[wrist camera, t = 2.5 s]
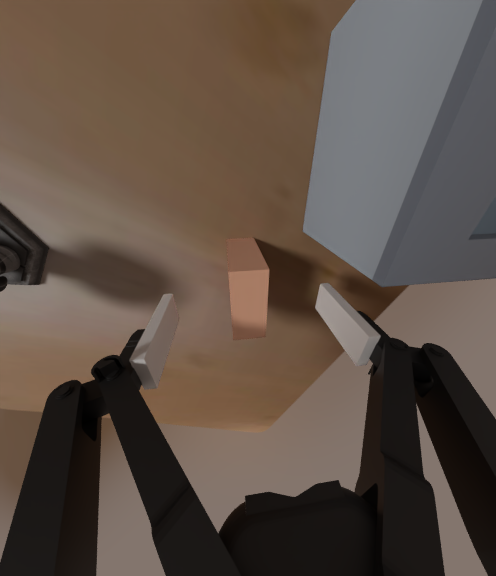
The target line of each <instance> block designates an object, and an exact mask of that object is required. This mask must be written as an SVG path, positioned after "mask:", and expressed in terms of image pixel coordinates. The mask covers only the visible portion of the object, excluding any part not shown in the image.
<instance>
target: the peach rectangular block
mask: <svg viewBox="0 0 496 576" xmlns="http://www.w3.org/2000/svg"><path fill="white" fill-rule="evenodd" d="M226 243H227V258H228V273H229V287H230V301H231V314H232V328H233V340H241V339H251V338H262V337H266V320H267V303H268V286H269V268H268V266H267V264H266V262H265V260H264V258H263V256H262V254H261V251H260V249H259V247H258V245H257V243H256V241H255V239H254V238H236V239H226Z"/></svg>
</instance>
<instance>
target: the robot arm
mask: <svg viewBox="0 0 496 576" xmlns="http://www.w3.org/2000/svg"><path fill="white" fill-rule="evenodd" d="M315 308H316V310H317V311H318V313H319V314H320V315H321V317H322V318H323V320H324V321H325V323H326V324H327V325H328V327H329V328H330V330H331V331H332V333H333V334H334V335H335V337H336V338H337V340H338V341H339V343H340V344H341V345H342V347H343V348H344V350H345V351H346V353H347V354H348V355H349V357H350V358H351V359H352V361H353V362H354V364H355V365H356V366H361V365H367V363H368V361H369V359H370V360H371V361H372V363H373V365H372V367H371V369H370V371H369V373H368V374H370V373H371V377H370V385H369V394H368V403H367V413H366V421H365V430H364V439H363V448H362V457H361V467H360V474H359V477H358V480H357V483H356V488H355V492H352V491H351V490H349V489H346V488H343V487H341V486H340V483H339V480H336V481H331V482H324V483H318V484H315V485H314V486H312V487H311V488H309V489H308V490H306V491H304V492H303V493H301V494H300V495H298V496H296V497H290V496H286V495H281V494H277V493H272V492H265V493H259V494H253V495H248V496H245V500H246V503H245V502H244V503H242V504H241V505H239V506H238V507H237V508H236V509H235V510H234V511H233V512H232V513H231V514H230V515H229V516H228V518H227V519H226V521H225V522H224V524H223V526H222V528H221V529H220V531H219V533H217V531H216V529H215V527H214V525H213V524H212V522H211V520H210V518H209V516H208V515H207V513H206V511H205V509H204V507H203V506H202V504H201V502H200V500H199V499H198V497H197V495H196V493H195V491H194V490H193V488H192V486H191V484H190V482H189V480H188V479H187V477H186V475H185V473H184V471H183V470H182V468H181V466H180V464H179V462H178V460H177V459H176V457H175V455H174V454H173V452H172V450H171V448H170V446H169V444H168V443H167V441H166V439H165V437H164V435H163V433H162V432H161V430H160V428H159V426H158V424H157V423H156V421H155V419H154V417H153V415H152V414H151V412H150V410H149V408H148V406H147V405H146V403H145V401H144V399H143V397H142V396H141V394H140V392H139V390H140V387H141V385H142V386H143V388H144V390H145V389H154V388H158V384H159V381H160V378H161V375H162V372H163V369H164V365H165V362H166V359H167V356H168V353H169V350H170V347H171V343H172V340H173V337H174V334H175V331H176V328H177V325H178V321H179V315H178V311H177V307H176V304H175V300H174V296H173V294H163V296H162V298H161V300H160V302H159V304H158V306H157V308H156V310H155V312H154V313H153V315H152V317H151V319H150V321H149V323H148V325H147V327H146V329H141V330H137V331H136V332H135V333H134V334H133V335H132V336H131V337H130V339H129V341H128V343H127V344H126V346H125V348H124V349H123V351H122V353H121V354H120V356H118V355H111V356H107V357H105V358H103V359H101V360H100V361H98V362H97V363H96V364H95V365H94V366H93V368H92V370H91V374H92V375H93V377H94V378H95V380H92V381H90V382H87V383H84V384H81V383H80V382H79V381H78V380H71V381H68V382H65V383H63V384H61V385H60V386H58V387H57V388H56V389H54V390H53V391H52V392H51V393H50V395H49V396H48V398H47V401H46V404H45V408H44V411H43V415H42V418H41V422H40V425H39V429H38V432H37V436H36V439H35V443H34V447H33V450H32V453H31V457H30V460H29V464H28V467H27V471H26V474H25V478H24V481H23V485H22V488H21V492H20V495H19V499H18V503H17V506H16V509H15V513H14V516H13V520H12V524H11V527H10V530H9V534H8V537H7V541H6V544H5V548H4V551H3V555H2V559H1V562H0V576H96V564H97V535H98V506H99V478H100V448H101V447H100V446H101V420H102V416H104V415H106V414H108V413H110V416H111V419H112V421H113V424H114V426H115V429H116V432H117V435H118V437H119V440H120V442H121V445H122V448H123V451H124V453H125V456H126V459H127V461H128V464H129V467H130V469H131V472H132V475H133V477H134V480H135V483H136V485H137V488H138V490H139V493H140V496H141V499H142V501H143V504H144V506H145V509H146V512H147V515H148V517H149V520H150V523H151V527H152V537H153V541H154V544H155V547H156V550H157V553H158V555H159V558H160V561H161V564H162V566H163V569H164V572H165V575H166V576H445V573H444V565H443V558H442V550H441V542H440V535H439V527H438V519H437V511H436V504H435V497H434V492H433V488H432V486H431V484H430V483H429V482H428V481H427V480H425V478H424V474H423V466H422V457H421V447H420V437H419V427H418V418H417V408H416V403H417V406H418V408H419V411H420V413H421V416H422V418H423V420H424V423H425V426H426V428H427V431H428V433H429V436H430V438H431V441H432V443H433V446H434V449H435V451H436V454H437V456H438V459H439V461H440V464H441V466H442V469H443V471H444V474H445V476H446V479H447V481H448V484H449V486H450V489H451V491H452V494H453V496H454V499H455V502H456V504H457V507H458V509H459V512H460V514H461V517H462V519H463V522H464V524H465V527H466V529H467V532H468V534H469V536H470V539H471V541H472V543H473V546H474V548H475V550H476V552H477V555H478V556H479V558H480V560H481V562H482V564H483V566H484V568H485V570H486V572H487V574H488V576H496V419H495V417H494V416H493V415H492V413H491V412H490V410H489V409H488V408H487V406H486V405H485V403H484V402H483V400H482V399H481V398H480V396H479V395H478V393H477V392H476V390H475V389H474V387H473V386H472V384H471V383H470V382H469V380H468V379H467V377H466V376H465V374H464V373H463V372H462V370H461V369H460V367H459V366H458V364H457V363H456V361H455V360H454V359H453V357H452V356H451V354H450V353H449V352H448V351H447V350H445V349H444V348H442V347H440V346H438V345H435V344H432V343H426V344H424V345H423V346H422V348H415V347H409V346H408V345H407V344H406V343H404V342H403V341H401V340H399V339H395V338H390V337H389V336H388V335H387V334H386V333H385V332H384V331H383V330H382V329H381V328H380V327H379V326H378V325H376V324H375V322H374V321H373V320H371V319H370V318H369V317H368V316H367V315H366V314H364V313H363V312H361V311H356V310H355V309H354V308H353V307H352V306H351V305H350V304H349V303H348V302H347V301H346V300H345V299H344V298H343V297H342V296H341V295H340V294H339V293H338V292H337V291H336V290H335V289H334V288H333V287H332V286H331V285H330V284H329V283H323V284H320V288H319V293H318V297H317V302H316V306H315Z"/></svg>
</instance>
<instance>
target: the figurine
mask: <svg viewBox="0 0 496 576" xmlns="http://www.w3.org/2000/svg"><path fill="white" fill-rule="evenodd" d="M48 249H49V248H48V247H47V246H46V245H45V244H43V243H42V242H41V241H40V240H39V239H38V238H37V237H36V236H35V235H34V234H32V233H31V232H30V231H29V230H28V229H27V228H26V227H25V226H24V225H23V224H22V223H20V222H19V221H18V220H17V219H16V218H15V217H14V216H13V215H12V214H11V213H9V212H8V211H7V210H6V209H5V208H4V207H3V206H2V205H1V204H0V292H1V291H2V290H4V289H5V288H6V286H7V284H15V285H39V284H40V280H41V276H42V272H43V269H44V265H45V261H46V257H47V253H48Z"/></svg>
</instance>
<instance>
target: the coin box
mask: <svg viewBox="0 0 496 576" xmlns="http://www.w3.org/2000/svg"><path fill="white" fill-rule="evenodd" d="M303 232H305V233H306V234H307V235H309V236H310V237H312V238H313V239H315V240H316V241H317V242H319V243H320V244H322V245H323V246H324V247H326V248H327V249H329V250H330V251H332V252H333V253H334V254H336V255H337V256H339V257H340V258H341V259H343V260H344V261H346V262H347V263H349V264H350V265H351V266H353V267H354V268H356V269H357V270H359V271H360V272H361V273H363V274H364V275H366V276H367V277H368V278H370V279H371V280H373V281H374V282H376V283H377V284H378V285H380V286H381V287H387V286H400V285H413V284H426V283H440V282H453V281H465V280H479V279H492V278H496V0H356V1H355V2H354V4H353V5H352V6H351V7H350V9H349V10H348V11H347V13H346V14H345V15H344V17H343V18H342V19H341V20H340V22H339V23H338V24H337V26H336V27H335V28H334V30H333V31H332V33H331V40H330V46H329V53H328V60H327V67H326V74H325V81H324V88H323V95H322V102H321V108H320V115H319V122H318V129H317V136H316V143H315V150H314V157H313V163H312V170H311V177H310V184H309V191H308V198H307V205H306V212H305V219H304V225H303Z"/></svg>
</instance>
